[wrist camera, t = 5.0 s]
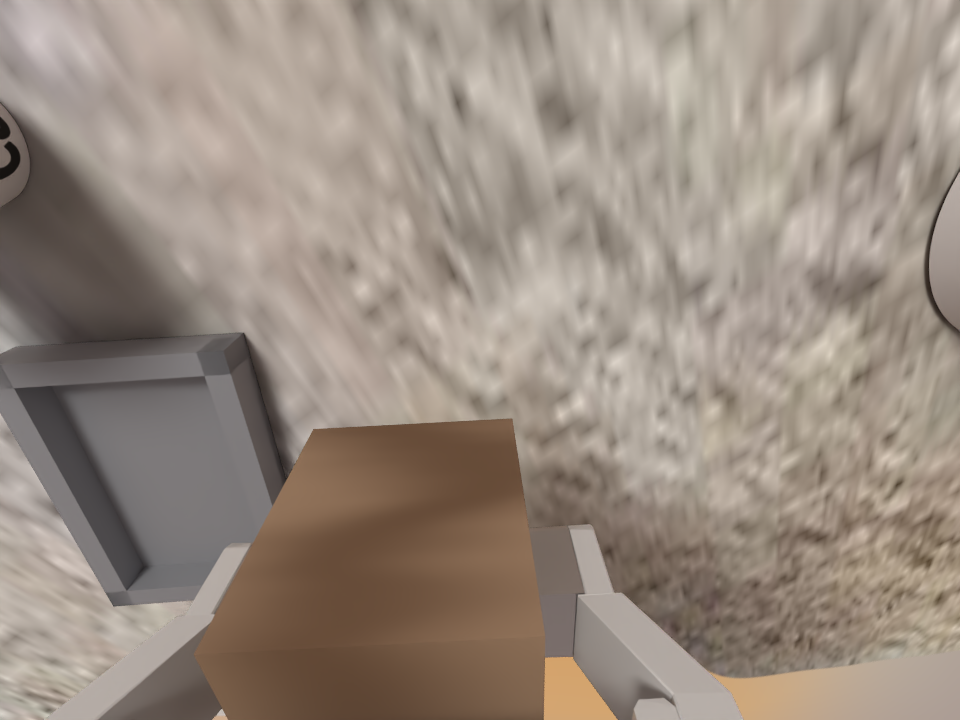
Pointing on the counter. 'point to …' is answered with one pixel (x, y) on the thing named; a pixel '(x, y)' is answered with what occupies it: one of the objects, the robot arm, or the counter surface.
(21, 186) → the cup
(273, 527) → the walnut block
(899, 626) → the counter surface
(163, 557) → the parts tray
